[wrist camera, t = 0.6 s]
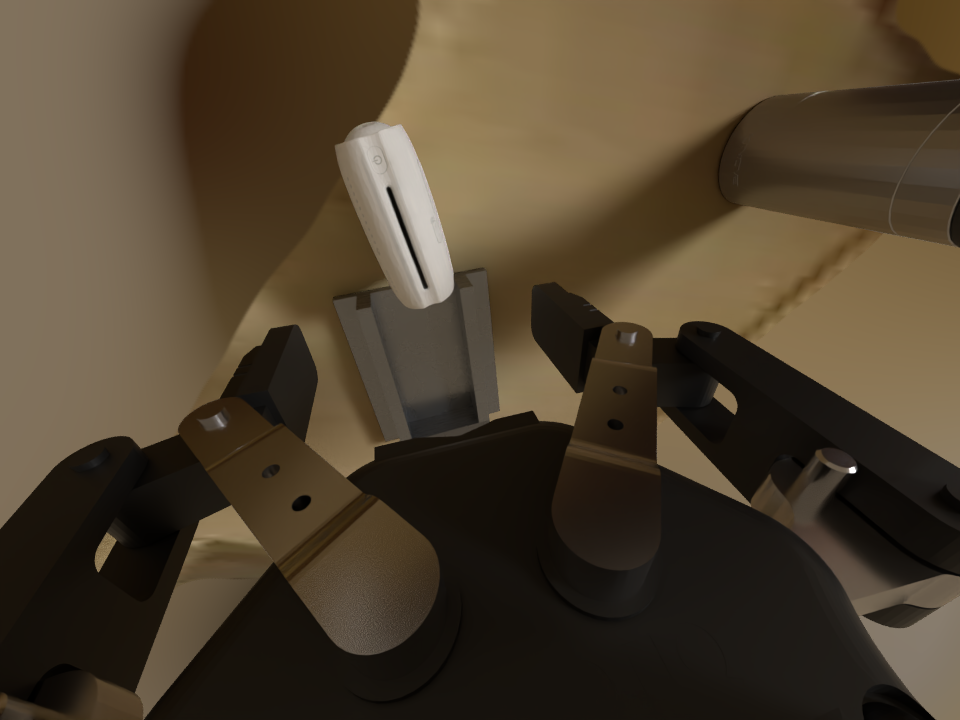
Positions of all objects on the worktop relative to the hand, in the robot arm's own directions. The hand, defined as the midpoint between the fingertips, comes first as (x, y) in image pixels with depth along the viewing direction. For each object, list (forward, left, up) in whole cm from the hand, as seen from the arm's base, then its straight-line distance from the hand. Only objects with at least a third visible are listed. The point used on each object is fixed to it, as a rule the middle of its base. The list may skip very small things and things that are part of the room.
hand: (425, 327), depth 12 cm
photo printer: (0, -1, -21) cm, 21 cm away
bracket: (0, +15, -20) cm, 25 cm away
